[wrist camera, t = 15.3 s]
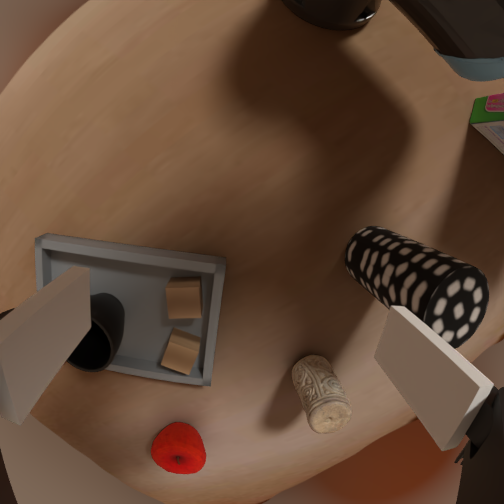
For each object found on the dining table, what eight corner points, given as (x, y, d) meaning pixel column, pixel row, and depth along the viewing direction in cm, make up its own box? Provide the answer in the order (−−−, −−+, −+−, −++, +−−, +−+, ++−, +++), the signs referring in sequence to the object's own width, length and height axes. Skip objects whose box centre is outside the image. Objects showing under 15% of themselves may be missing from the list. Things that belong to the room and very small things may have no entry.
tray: (47, 233, 39) (34, 238, 35) (225, 257, 42) (226, 265, 38) (53, 343, 43) (44, 354, 39) (211, 372, 46) (210, 386, 42)
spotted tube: (403, 264, 44) (493, 318, 25) (358, 293, 44) (432, 367, 25) (384, 215, 42) (481, 248, 23) (335, 244, 42) (412, 300, 23)
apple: (153, 439, 49) (146, 471, 41) (160, 408, 47) (152, 440, 39) (201, 450, 50) (199, 482, 42) (212, 420, 48) (211, 453, 41)
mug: (84, 251, 39) (51, 272, 30) (145, 313, 42) (127, 349, 33) (54, 288, 40) (21, 314, 31) (111, 346, 43) (90, 383, 33)
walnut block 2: (173, 327, 43) (169, 341, 39) (200, 337, 43) (198, 352, 39) (165, 349, 43) (160, 364, 39) (191, 359, 44) (188, 375, 40)
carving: (301, 393, 48) (319, 444, 36) (281, 361, 46) (297, 414, 35) (336, 375, 48) (362, 423, 36) (319, 342, 46) (344, 390, 34)
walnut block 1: (170, 277, 41) (165, 288, 37) (201, 276, 41) (198, 287, 37) (173, 305, 42) (169, 318, 38) (203, 304, 42) (201, 317, 38)
